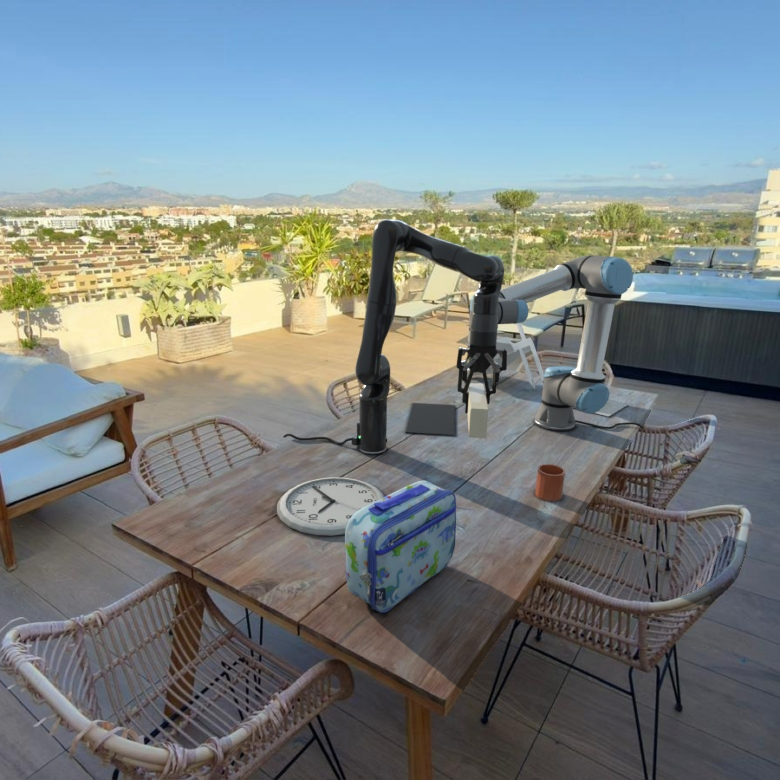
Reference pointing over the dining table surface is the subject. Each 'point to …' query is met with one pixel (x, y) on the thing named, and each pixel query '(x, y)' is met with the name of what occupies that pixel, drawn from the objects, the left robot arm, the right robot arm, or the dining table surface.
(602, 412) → the invitation card
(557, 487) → the terracotta pot
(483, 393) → the cream beam
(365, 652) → the dining table surface
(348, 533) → the lunch box
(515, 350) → the white plastic object
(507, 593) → the dining table surface
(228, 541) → the dining table surface
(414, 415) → the dark rubber mat
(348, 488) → the wall clock
